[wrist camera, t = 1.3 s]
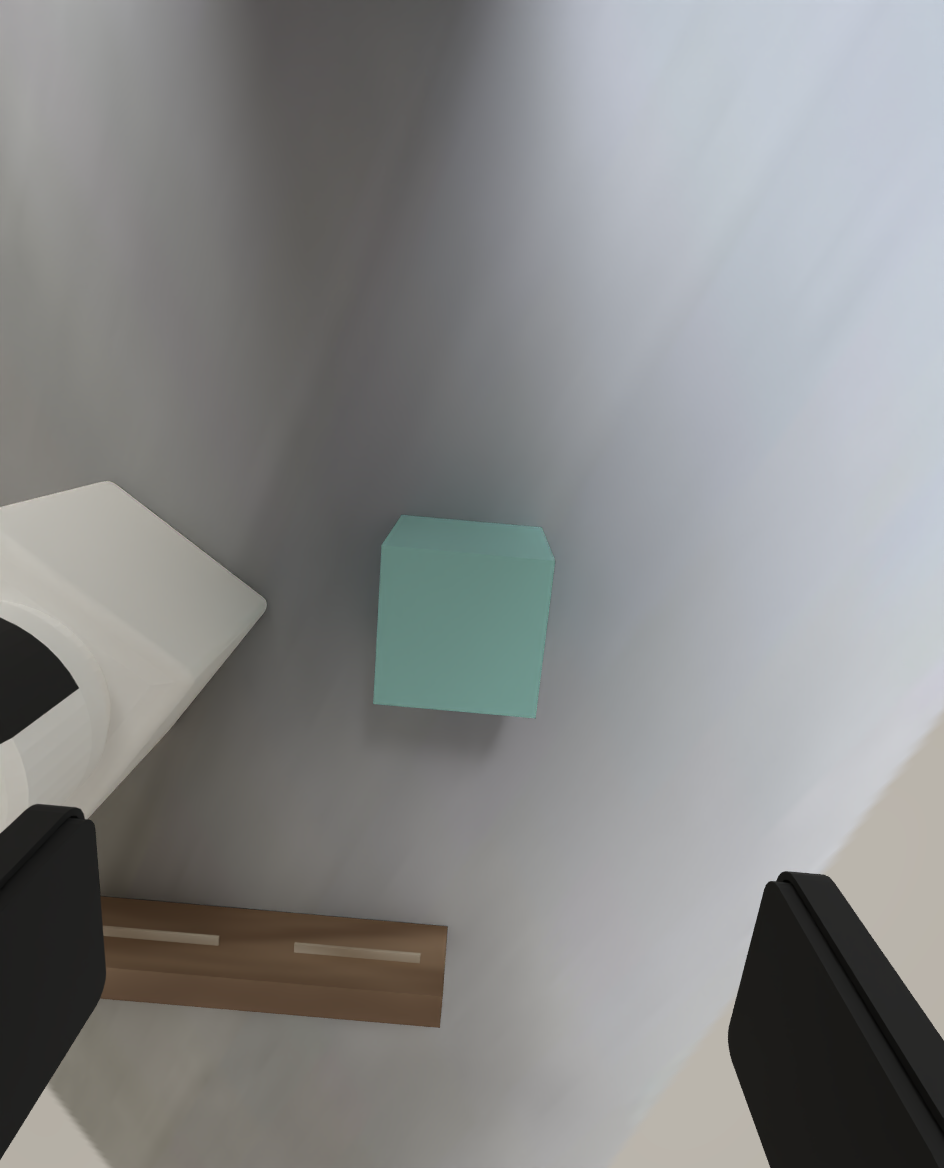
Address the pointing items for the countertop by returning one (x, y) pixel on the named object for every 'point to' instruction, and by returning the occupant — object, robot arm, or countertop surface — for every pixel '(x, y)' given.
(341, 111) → the countertop surface
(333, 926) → the walnut fence
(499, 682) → the teal block
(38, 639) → the medicine bottle
